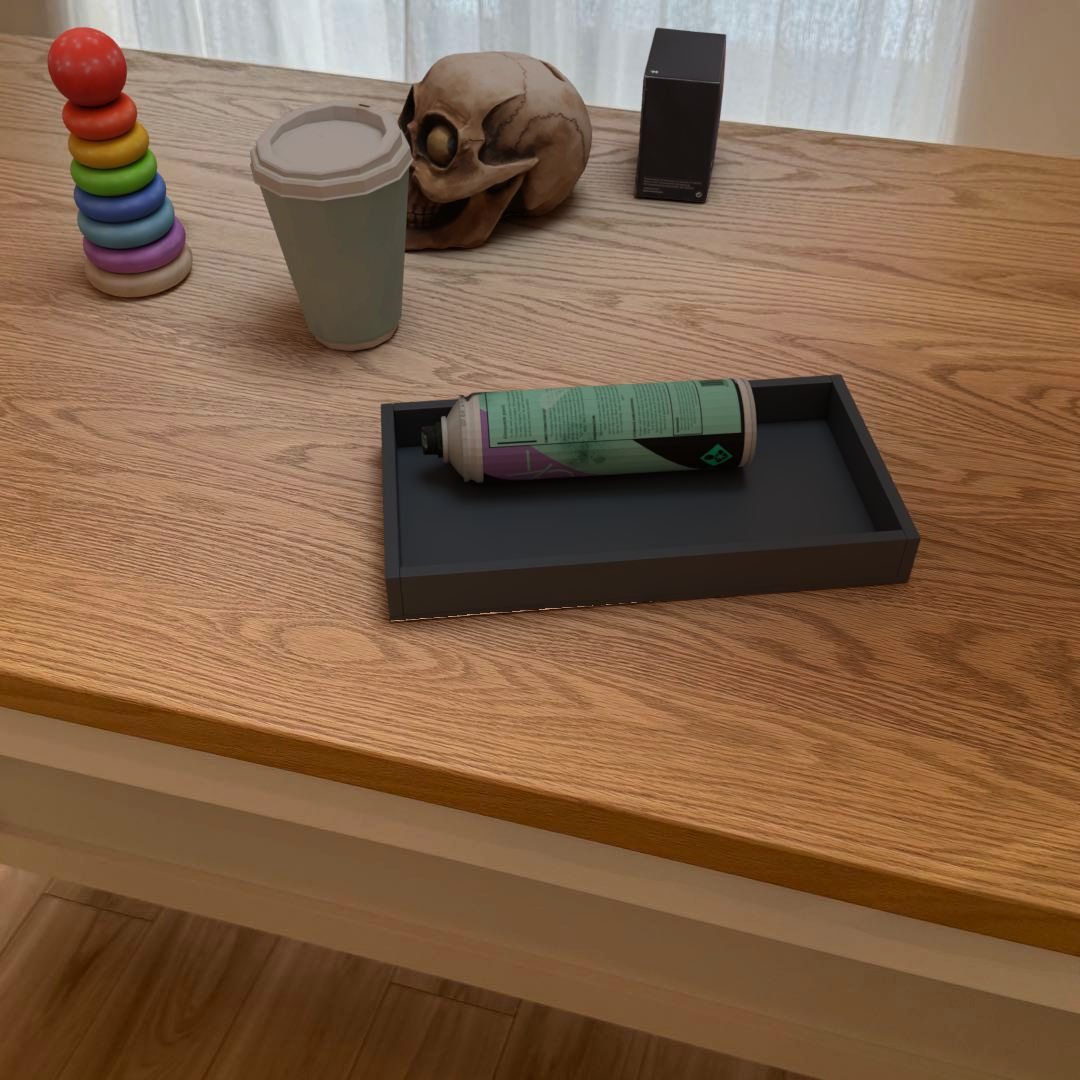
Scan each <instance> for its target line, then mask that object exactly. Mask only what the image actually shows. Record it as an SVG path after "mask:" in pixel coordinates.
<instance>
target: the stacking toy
mask: <svg viewBox="0 0 1080 1080" xmlns="http://www.w3.org/2000/svg"><path fill="white" fill-rule="evenodd" d="M46 60H47V61H46V63H47V71H48V74H49V77H50V79H51V82H52V83H53V85H54V87H55V89H57V91H58V92H59V93H60V94H61V95H62V96H63V97H64V98H66V99H67V101H66V102H65V103H64V105H63V108H62V110H61V120H62V122H63V124H64V126H65V128H66V129H67V130H68V131H69V133H70V134H69V135H68V139H67V147H68V151H69V153H70V155H71V157H72V160H71V163H70V166H69V171H70V172H69V173H70V175H71V178H72V180H73V182H74V184H75V186H74V190H73V200H74V203H75V205H76V207H77V208H78V212H77V216H76V222H77V227H78V228H79V231H80V233H81V234H82V235H83V236H82V237H83V238H82V247H83V252H84V254H85V256H86V258H85V261H84V273H85V276H86V278H87V280H88V281H89V282H90V284H91V285H92V286H93V287H94V288H95V289H97V290H98V291H100V292H102V293H104V294H107V295H111V296H114V297H121V298H139V297H147V296H152V295H155V294H159V293H162V292H163V291H166V290H168V289H171V288H173V287H174V286H176V285H178V284H179V283H181V282H182V281H183V280H184V279H185V278H186V277H187V276H188V274H189V273H190V271H191V268H192V265H193V259H194V258H193V252H192V249H191V247H190V245H189V243H187V241H186V238H187V237H186V236H187V235H186V230H185V227H184V225H183V223H182V222H181V221H180V219H179V218H178V217H176V215H175V214H176V212H175V207H174V205H173V202H172V201H171V198H169V196H167V185H166V181H165V180H164V178H163V176H162V175H161V174H160V173H159V172H158V161H157V158H156V155H155V153H154V152H153V151H152V150H151V149H150V148H149V146H150V136H149V133H148V130H147V129H146V128H145V126H144V125H143V124H142V123H140V122H139V121H137V120H138V109H137V105H136V103H135V101H134V100H133V98H131V96H129V95H128V94H126V93H124V92H123V89H124V88H125V85H126V83H127V77H128V65H127V60H126V57H125V55H124V52H123V50H122V49H121V47H120V45H119V44H118V43H117V42H116V41H115V40H114V39H113V38H112V37H111V36H109V35H108V34H107V33H105V32H103V31H101V30H99V29H96V28H93V27H89V26H87V27H86V26H81V27H80V26H79V27H74V28H70V29H67V30H65V31H63V32H62V33H60V34H59V35H58V36H57V37H56V38H55V39H54V41H53V42H52V44H51V45H50V47H49V50H48V52H47V59H46Z"/></svg>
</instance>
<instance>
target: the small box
mask: <svg viewBox="0 0 1080 1080" xmlns="http://www.w3.org/2000/svg"><path fill="white" fill-rule="evenodd" d="M651 41H652V42H651V44H650V48H649V53H648V57H647V61H646V64H645V69H644V73H643V79H642V89H641V90H642V92H641V104H640V105H641V106H640V107H641V108H640V120H639V131H638V133H639V139H638V149H637V150H638V152H637V162H636V171H635V180H634V182H635V183H634V193H633V195H634V197H640V198H642V197H643V198H651V199H652V198H653V199H664V200H673V201H674V200H675V201H685V202H695V203H706V201H707V199H708V193H709V189H710V184H711V179H712V175H713V174H712V173H713V169H714V168H713V167H714V163H715V158H716V157H715V156H716V152H717V151H716V150H717V144H718V143H717V142H718V137H719V130H720V123H721V116H722V115H721V114H722V105H723V97H724V87H725V85H724V84H725V73H726V72H725V70H726V55H727V34H726V33H716V32H705V31H694V30H686V29H685V30H684V29H675V28H666V27H655V29H654V33H653V37H652V40H651Z"/></svg>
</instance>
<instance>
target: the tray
mask: <svg viewBox="0 0 1080 1080" xmlns="http://www.w3.org/2000/svg"><path fill="white" fill-rule="evenodd" d="M746 380H747V381H748V382H749V384H750V386H751V389H752V393H753V397H754V403H755V410H756V427H757V433H756V448H755V453H754V457H753V460H752V463H751V464H750V465H749V466H742V467H731V468H715V469H698V470H681V471H665V472H648V473H631V474H615V475H598V476H581V477H565V478H548V479H532V480H515V481H498V482H482V483H477V482H476V481H474V480H472V479H471V480H469V482H464V477H462V476H461V475H460V474H459V473H458V472H457V470H456V469H455V468H454V467H453V465H452V464H451V462H450V461H448V463H445V462H444V458H438V455H424V454H423V447H422V434H421V428H422V427H428V426H436V422H441V417H442V416H445V417H446V418H447V416H448V414H449V412H450V411H451V409H452V408H453V406H454V405H455V403H456V402H457V401H458V400H459V398H449V399H435V400H434V399H433V400H432V399H431V400H421V401H420V400H419V401H418V400H417V401H402V402H388V403H380V434H381V435H380V437H381V438H380V439H381V474H382V476H381V477H382V478H381V479H382V480H381V481H382V506H383V507H382V513H383V514H382V515H383V551H384V552H383V554H384V556H383V557H384V558H383V559H384V581H385V591H386V598H387V607H388V615H389V622H390V621H391V620H406V619H419V618H434V617H448V616H457V615H467V614H480V613H490V612H512V611H520V610H539V609H545V608H562V607H577V606H592V605H593V606H598V607H602V606H601V605H606V604H612V605H611V606H615V605H614V604H619V603H631V602H637V603H636V604H640V603H639V602H649V603H658V602H657V601H662V602H669V601H668V600H671V601H672V602H673V601H685V599H687V600H696V599H695V598H700V599H706V598H705V597H710V598H709V599H712V598H711V597H713V598H722V597H721V596H726V597H736V596H735V595H739V596H748V595H749V594H751V595H762V594H763V595H764V594H775V593H776V592H777V593H789V592H801V590H803V591H813V590H814V589H815V590H826V589H827V590H829V589H840V588H855V587H865V586H878V585H879V586H880V585H890V584H902V583H903V584H904V583H909V581H910V577H911V574H912V570H913V567H914V563H915V560H916V557H917V555H918V554H917V553H918V550H919V546H920V543H921V540H922V537H921V535H920V533H919V531H918V529H917V527H916V525H915V523H914V520H913V519H912V517H911V514H910V512H909V510H908V509H907V506H906V504H905V503H904V500H903V498H902V497H901V494H900V492H899V489H898V488H897V486H896V484H895V482H894V480H893V477H892V475H891V474H890V472H889V470H888V468H887V465H886V464H885V461H884V459H883V457H882V455H881V453H880V451H879V449H878V447H877V445H876V443H875V440H874V439H873V437H872V435H871V432H870V430H869V429H868V427H867V424H866V422H865V420H864V418H863V416H862V414H861V412H860V410H859V408H858V406H857V404H856V402H855V400H854V397H853V396H852V394H851V392H850V389H849V387H848V386H847V385H848V384H847V383H846V381H845V379H844V377H843V375H842V374H841V373H840V374H839V373H837V374H827V375H826V374H825V375H824V374H823V375H813V376H812V375H809V376H808V375H807V376H793V377H779V378H778V377H777V378H762V379H761V378H760V379H746ZM715 596H716V597H715ZM679 599H680V600H679ZM650 601H652V602H650ZM671 601H670V602H671Z"/></svg>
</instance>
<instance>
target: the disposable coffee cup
mask: <svg viewBox="0 0 1080 1080" xmlns="http://www.w3.org/2000/svg"><path fill="white" fill-rule="evenodd" d="M397 121H398V120H397V119H396V116H395V114H394V113H393V112H392V111H389V110H387V109H384V108H382V107H380V106H377V105H375V104H371V103H368V102H367V103H366V102H363V101H362V102H361V101H351V100H339V99H338V100H337V99H334V100H329V101H324V102H319V103H314V104H309V105H306V106H301V107H298V108H296V109H294V110H292V111H290V112H288V113H287V114H284V115H283V116H280V117H279V118H276V119H275V120H273V121H271V122H270V123H269V124H268V125H267V127H266V128H265V129H264V131H263V132H262V133H261V134H260V135H259V137H258V138H257V139H256V141H255V145H254V146H253V147H252V148H251V150H250V151H249V155H250V164H249V166H250V170H251V174H252V178H253V182H254V184H256V185H257V186H258V187H259V189H260V191H261V194H262V197H263V200H264V204H265V206H266V208H267V211H268V214H269V217H270V221H271V223H272V226H273V229H274V232H275V235H276V238H277V241H278V243H279V246H280V249H281V252H282V255H283V258H284V260H285V263H286V266H287V269H288V272H289V275H290V278H291V281H292V284H293V287H294V290H295V293H296V295H297V298H298V299H297V300H298V301H299V304H300V307H301V310H302V313H303V316H304V319H305V322H306V324H307V328H308V330H309V333H311V334H312V335H313V337H314V339H315V341H317V342H318V343H320V344H322V345H323V346H324V347H327V348H328V349H331V350H338V351H346V352H355V351H361V350H366V349H372V348H375V347H377V346H379V345H381V344H382V343H384V342H386V341H388V340H390V339H391V338H392V337H393V335H394V334H395V332H396V330H397V329H398V327H399V321H400V320H401V318H402V315H403V314H402V313H403V311H402V310H403V295H404V294H403V292H404V275H405V258H406V257H405V256H406V255H405V253H406V250H405V238H406V218H407V199H408V180H409V166H410V164H411V163H412V162H413V158H412V155H411V150H410V146H409V144H408V142H407V140H406V138H405V136H404V134H403V132H402V130H401V129H400V128H399V126H398V123H397Z"/></svg>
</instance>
